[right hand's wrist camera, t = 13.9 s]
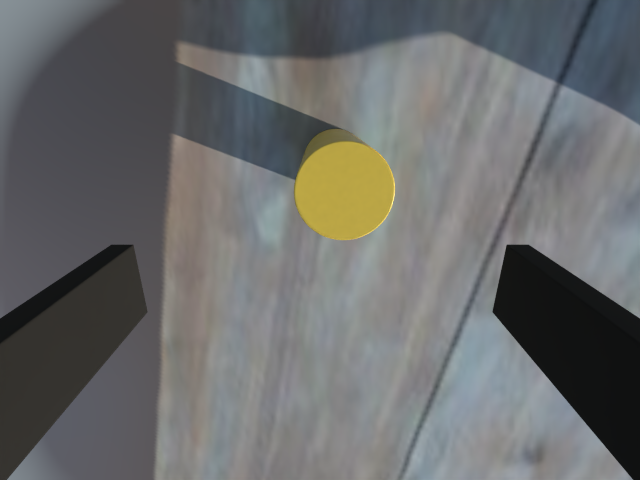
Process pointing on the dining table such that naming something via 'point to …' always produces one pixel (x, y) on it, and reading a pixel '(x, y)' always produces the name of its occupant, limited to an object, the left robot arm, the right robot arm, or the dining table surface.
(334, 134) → the can
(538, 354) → the right robot arm
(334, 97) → the dining table surface
